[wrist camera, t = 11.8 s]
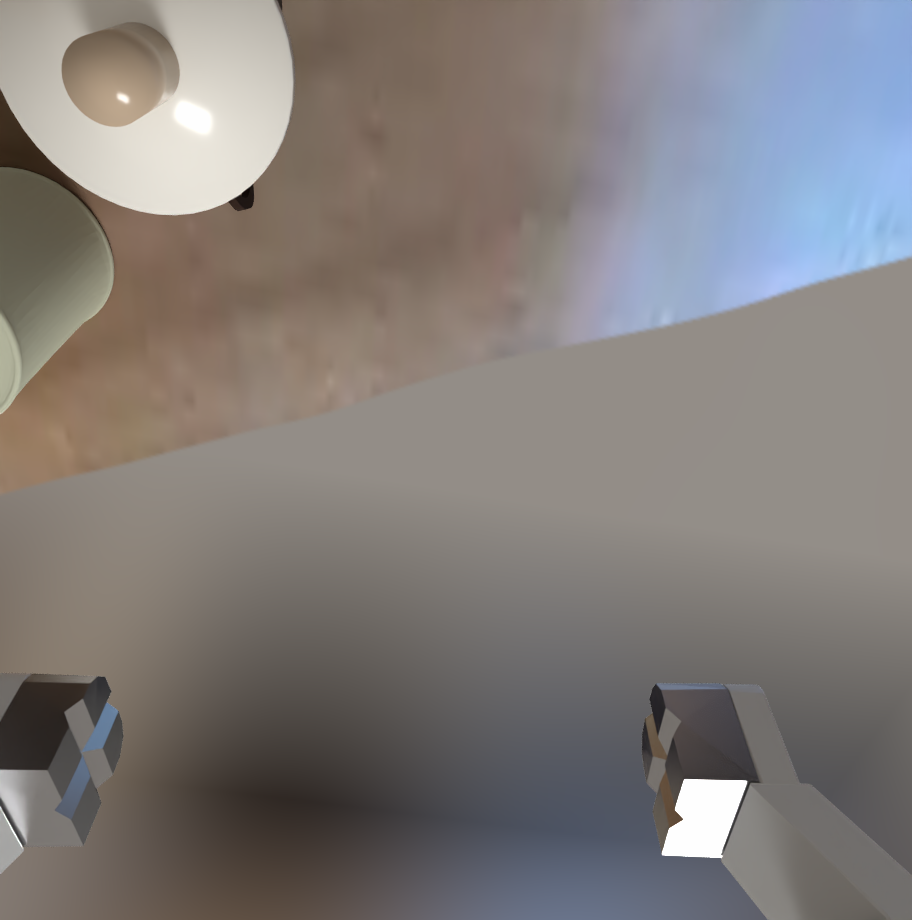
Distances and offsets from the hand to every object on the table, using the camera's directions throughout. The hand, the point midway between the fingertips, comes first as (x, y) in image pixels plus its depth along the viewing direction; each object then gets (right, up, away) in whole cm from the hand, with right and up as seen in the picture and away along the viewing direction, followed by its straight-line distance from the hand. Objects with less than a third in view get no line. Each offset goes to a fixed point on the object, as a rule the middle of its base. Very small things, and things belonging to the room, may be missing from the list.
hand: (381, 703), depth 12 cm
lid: (-10, +19, +18) cm, 28 cm away
